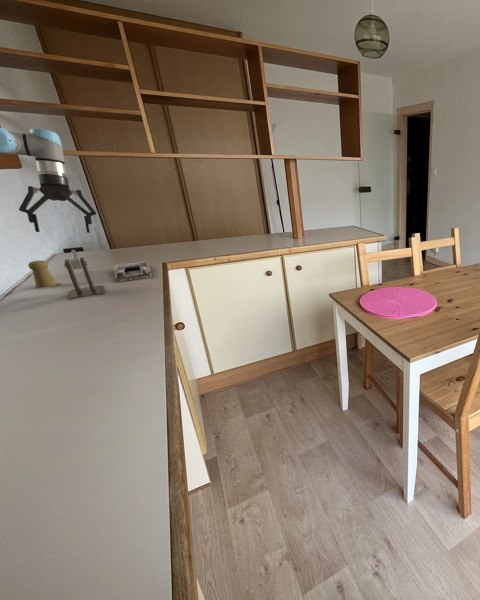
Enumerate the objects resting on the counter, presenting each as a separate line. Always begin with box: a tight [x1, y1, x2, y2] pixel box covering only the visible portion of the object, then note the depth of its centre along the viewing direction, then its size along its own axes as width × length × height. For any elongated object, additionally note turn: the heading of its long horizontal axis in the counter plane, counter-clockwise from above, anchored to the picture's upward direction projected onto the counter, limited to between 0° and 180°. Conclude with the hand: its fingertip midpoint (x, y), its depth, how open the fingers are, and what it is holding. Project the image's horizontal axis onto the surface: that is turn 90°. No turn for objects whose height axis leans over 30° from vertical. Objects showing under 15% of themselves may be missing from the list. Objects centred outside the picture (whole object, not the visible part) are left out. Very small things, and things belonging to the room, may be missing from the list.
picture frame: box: [112, 261, 152, 282], centre depth 145 cm, size 13×25×3 cm, turn 41°
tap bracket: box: [63, 257, 103, 300], centre depth 119 cm, size 12×9×14 cm
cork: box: [27, 260, 58, 289], centre depth 126 cm, size 6×6×11 cm
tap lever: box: [62, 246, 85, 270], centre depth 120 cm, size 13×6×2 cm, turn 42°
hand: (64, 232), depth 122 cm, fingers open, 13 cm apart
